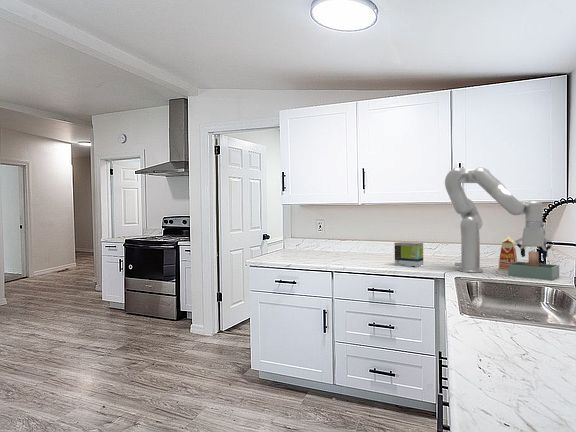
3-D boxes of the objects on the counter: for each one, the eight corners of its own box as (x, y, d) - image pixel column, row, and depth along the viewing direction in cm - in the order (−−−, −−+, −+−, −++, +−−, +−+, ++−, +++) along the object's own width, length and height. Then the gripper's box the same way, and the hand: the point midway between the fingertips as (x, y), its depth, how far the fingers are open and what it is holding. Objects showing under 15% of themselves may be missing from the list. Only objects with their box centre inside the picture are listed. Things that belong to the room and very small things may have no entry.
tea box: (423, 265, 243) (423, 242, 243) (416, 267, 236) (416, 243, 236) (401, 263, 254) (401, 241, 253) (394, 265, 246) (394, 242, 246)
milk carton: (501, 268, 230) (501, 234, 229) (518, 269, 224) (519, 235, 224) (497, 270, 223) (497, 235, 222) (516, 271, 217) (516, 236, 217)
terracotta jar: (530, 262, 206) (530, 251, 206) (539, 263, 203) (539, 251, 203) (527, 263, 204) (527, 252, 203) (537, 264, 200) (537, 252, 200)
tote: (508, 275, 206) (508, 264, 206) (517, 272, 215) (517, 261, 215) (552, 280, 192) (552, 268, 192) (559, 276, 201) (559, 265, 201)
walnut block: (528, 273, 208) (528, 262, 208) (541, 274, 203) (541, 263, 203) (524, 274, 204) (525, 263, 204) (538, 276, 199) (538, 264, 199)
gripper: (555, 225, 199) (555, 258, 199) (517, 224, 212) (517, 255, 212) (551, 225, 194) (551, 259, 194) (513, 224, 207) (513, 256, 207)
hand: (533, 257), depth 203 cm, fingers open, 9 cm apart
